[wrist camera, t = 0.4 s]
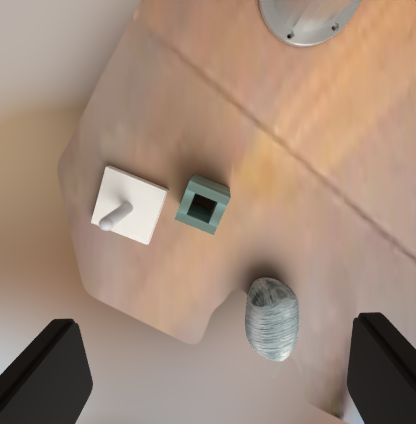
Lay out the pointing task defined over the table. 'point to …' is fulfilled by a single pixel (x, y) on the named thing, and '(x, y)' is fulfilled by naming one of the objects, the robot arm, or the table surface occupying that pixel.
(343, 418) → the table surface
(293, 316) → the spool
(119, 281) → the table surface
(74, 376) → the robot arm
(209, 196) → the bead
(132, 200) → the white peg stand
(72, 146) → the table surface
